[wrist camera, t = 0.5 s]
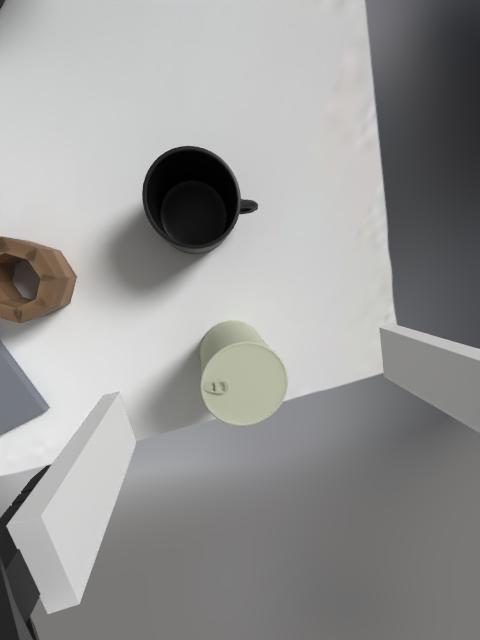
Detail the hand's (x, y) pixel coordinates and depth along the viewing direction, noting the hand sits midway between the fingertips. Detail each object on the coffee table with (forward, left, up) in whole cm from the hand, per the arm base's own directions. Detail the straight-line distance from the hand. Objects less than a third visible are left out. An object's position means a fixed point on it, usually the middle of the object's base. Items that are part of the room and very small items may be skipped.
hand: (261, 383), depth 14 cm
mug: (-12, +4, -25) cm, 28 cm away
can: (+6, -1, -25) cm, 26 cm away
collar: (-14, -18, -25) cm, 34 cm away
